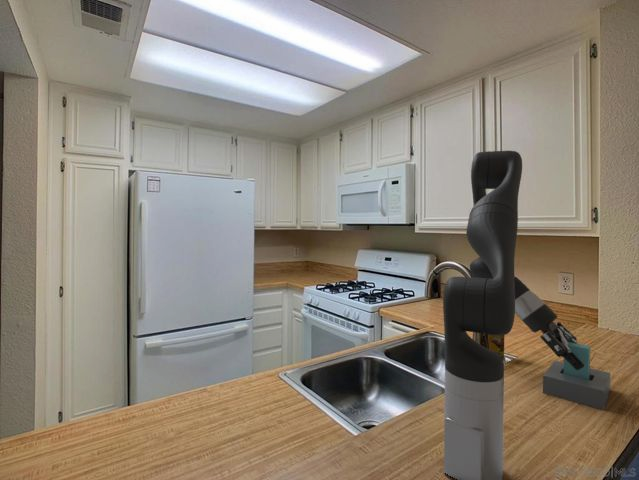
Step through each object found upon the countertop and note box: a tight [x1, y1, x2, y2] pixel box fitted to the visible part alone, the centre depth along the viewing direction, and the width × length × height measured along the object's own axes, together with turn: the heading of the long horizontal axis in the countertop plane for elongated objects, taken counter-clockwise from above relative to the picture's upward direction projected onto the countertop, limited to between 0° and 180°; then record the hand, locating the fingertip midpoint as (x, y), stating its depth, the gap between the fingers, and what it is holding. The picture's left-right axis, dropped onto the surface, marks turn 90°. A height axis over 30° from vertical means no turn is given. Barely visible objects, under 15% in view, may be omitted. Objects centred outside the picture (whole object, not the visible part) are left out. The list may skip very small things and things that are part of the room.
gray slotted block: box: [542, 360, 611, 411], centre depth 87 cm, size 14×12×4 cm
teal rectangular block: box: [563, 342, 591, 380], centre depth 87 cm, size 3×5×12 cm, turn 45°
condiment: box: [488, 334, 506, 364], centre depth 111 cm, size 7×8×12 cm
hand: (583, 363), depth 86 cm, fingers open, 8 cm apart
